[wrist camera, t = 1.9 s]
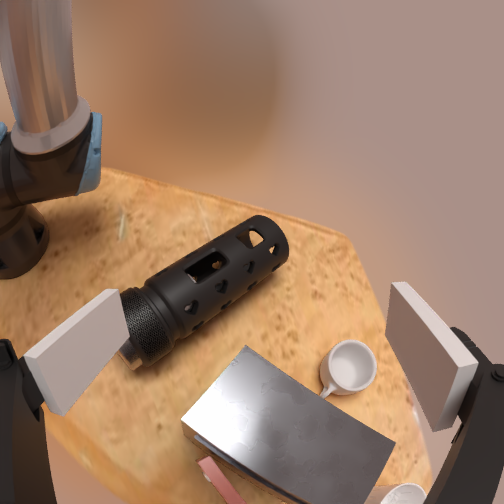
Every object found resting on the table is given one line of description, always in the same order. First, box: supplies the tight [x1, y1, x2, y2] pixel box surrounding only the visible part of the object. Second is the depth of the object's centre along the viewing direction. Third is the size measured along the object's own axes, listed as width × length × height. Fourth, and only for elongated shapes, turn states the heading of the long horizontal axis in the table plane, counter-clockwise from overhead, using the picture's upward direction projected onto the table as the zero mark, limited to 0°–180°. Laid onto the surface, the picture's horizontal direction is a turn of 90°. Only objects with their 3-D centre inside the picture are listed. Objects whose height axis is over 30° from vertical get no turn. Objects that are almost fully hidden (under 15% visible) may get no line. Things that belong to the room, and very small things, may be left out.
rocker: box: [196, 456, 246, 504], centre depth 21 cm, size 10×1×8 cm, turn 34°
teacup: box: [320, 340, 377, 399], centre depth 39 cm, size 10×8×5 cm
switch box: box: [181, 345, 396, 504], centre depth 26 cm, size 16×8×18 cm, turn 54°
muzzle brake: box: [117, 215, 289, 371], centre depth 41 cm, size 10×28×10 cm, turn 135°
